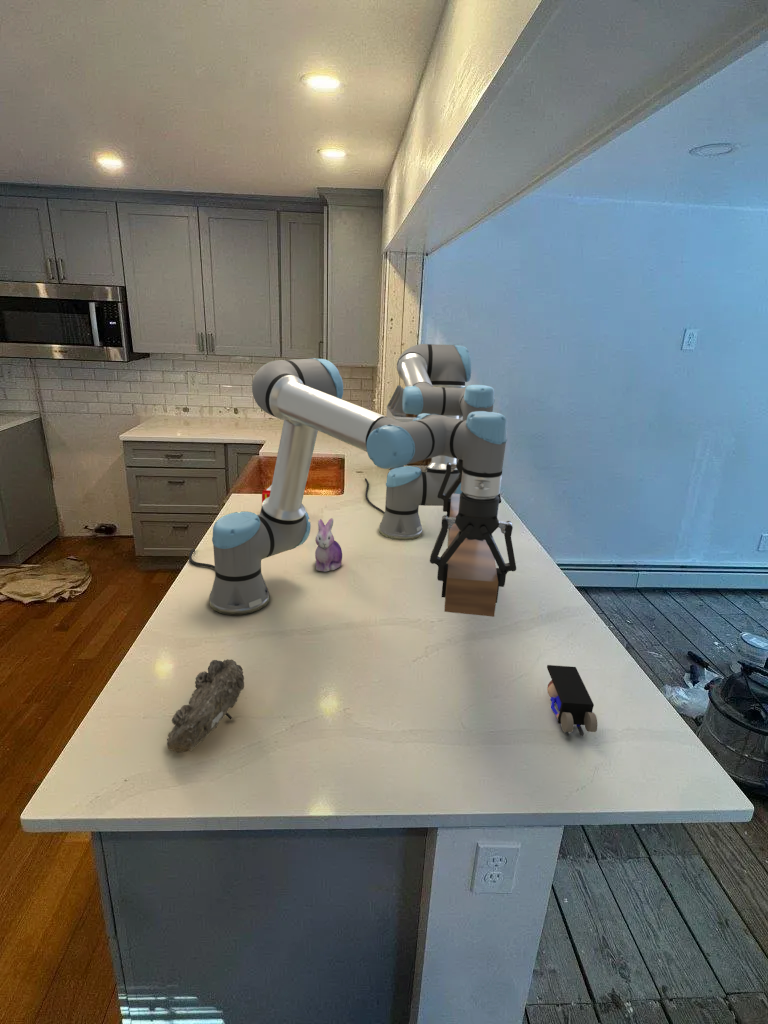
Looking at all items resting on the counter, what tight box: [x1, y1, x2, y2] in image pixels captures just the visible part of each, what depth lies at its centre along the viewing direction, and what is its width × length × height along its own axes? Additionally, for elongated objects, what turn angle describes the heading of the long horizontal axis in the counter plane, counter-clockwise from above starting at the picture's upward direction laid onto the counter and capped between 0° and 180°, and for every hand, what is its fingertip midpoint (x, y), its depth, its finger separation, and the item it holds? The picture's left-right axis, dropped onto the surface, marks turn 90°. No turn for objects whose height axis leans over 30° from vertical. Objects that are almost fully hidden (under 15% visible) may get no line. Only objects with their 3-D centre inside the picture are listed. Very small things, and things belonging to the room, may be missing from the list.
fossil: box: [166, 658, 245, 754], centre depth 106 cm, size 22×10×15 cm
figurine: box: [314, 517, 343, 572], centre depth 170 cm, size 9×10×15 cm
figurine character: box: [546, 664, 598, 737], centre depth 111 cm, size 7×8×15 cm
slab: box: [443, 493, 498, 618], centre depth 136 cm, size 55×10×7 cm, turn 173°
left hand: (468, 596), depth 116 cm, fingers closed on slab, 10 cm apart
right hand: (466, 524), depth 157 cm, fingers closed on slab, 10 cm apart
